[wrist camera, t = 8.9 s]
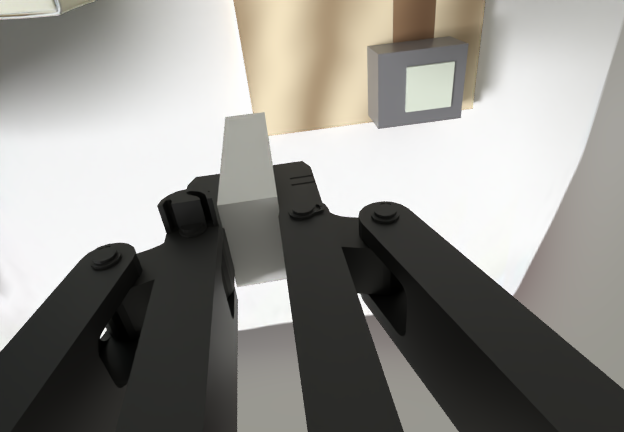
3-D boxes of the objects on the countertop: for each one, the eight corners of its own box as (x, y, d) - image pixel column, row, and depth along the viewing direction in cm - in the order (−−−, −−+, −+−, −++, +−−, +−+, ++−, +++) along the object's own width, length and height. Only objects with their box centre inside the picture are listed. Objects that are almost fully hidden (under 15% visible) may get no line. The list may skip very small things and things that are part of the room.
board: (257, 132, 32) (257, 137, 31) (219, -88, 25) (217, -90, 24) (465, 104, 33) (472, 108, 32) (489, -116, 26) (499, -119, 25)
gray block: (368, 115, 32) (379, 129, 29) (367, 46, 29) (379, 54, 26) (443, 105, 32) (461, 118, 29) (449, 36, 29) (470, 43, 27)
